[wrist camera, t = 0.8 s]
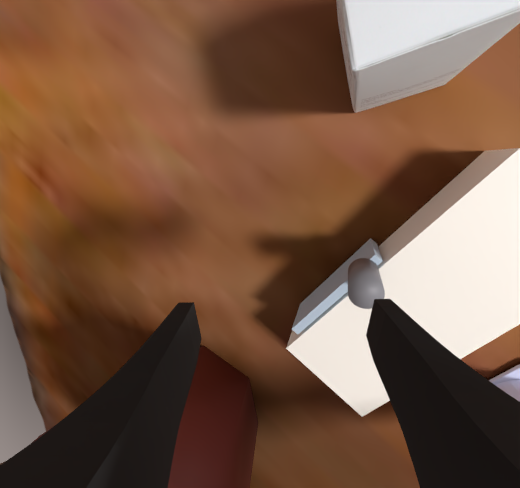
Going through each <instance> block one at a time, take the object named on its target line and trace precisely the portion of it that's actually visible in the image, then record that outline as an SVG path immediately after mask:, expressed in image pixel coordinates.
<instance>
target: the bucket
mask: <svg viewBox="0 0 520 488" xmlns="http://www.w3.org/2000/svg"><path fill="white" fill-rule="evenodd" d="M257 427H258V420H257V415H256V410H255V405H254V400H253V395H252V390H251V385H250V380H249V378H248V377H247V376H245V375H244V374H243V373H241V372H240V371H238V370H237V369H236V368H234V367H233V366H231V365H230V364H229V363H227V362H226V361H224V360H223V359H222V358H220V357H219V356H217V355H216V354H215V353H213V352H212V351H210V350H209V349H208V348H206V347H205V346H201V347H200V349H199V355H198V361H197V365H196V369H195V372H194V376H193V380H192V383H191V387H190V390H189V394H188V397H187V401H186V404H185V408H184V411H183V415H182V418H181V422H180V426H179V430H178V434H177V440H176V445H175V450H174V455H173V460H172V466H171V471H170V477H169V483H168V488H250V480H251V473H252V465H253V457H254V450H255V442H256V435H257ZM52 428H53V427H52ZM49 430H50V429H49ZM49 430H48V431H49ZM46 432H47V431H46ZM46 432H45V433H46ZM45 433H43V434H45ZM43 434H42V435H43ZM42 435H40V436H39V437H41V436H42ZM39 437H38V438H39ZM38 438H37V439H38ZM37 439H36V440H37ZM34 441H35V440H34ZM34 441H33V442H34ZM33 442H32V443H33ZM3 463H4V462H3ZM3 463H1V464H3ZM1 464H0V465H1Z"/></svg>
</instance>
